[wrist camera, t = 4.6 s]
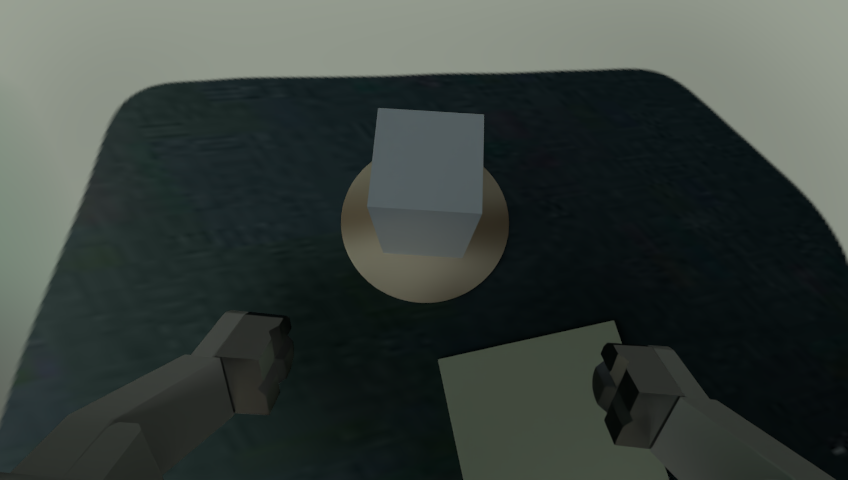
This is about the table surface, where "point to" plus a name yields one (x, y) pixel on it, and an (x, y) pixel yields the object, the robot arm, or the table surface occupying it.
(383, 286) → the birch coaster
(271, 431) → the table surface
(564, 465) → the sage mat
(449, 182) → the grey block
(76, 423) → the robot arm
